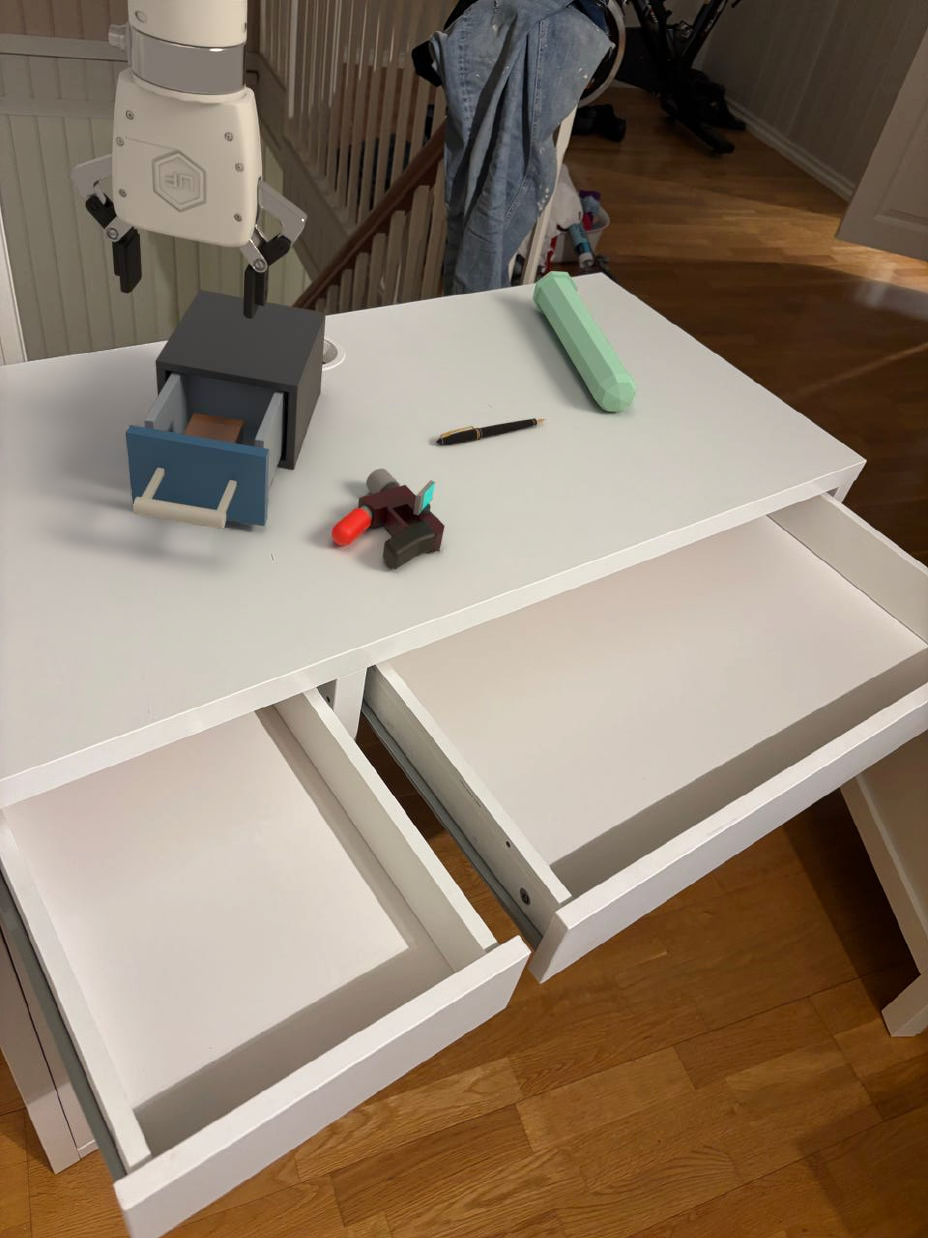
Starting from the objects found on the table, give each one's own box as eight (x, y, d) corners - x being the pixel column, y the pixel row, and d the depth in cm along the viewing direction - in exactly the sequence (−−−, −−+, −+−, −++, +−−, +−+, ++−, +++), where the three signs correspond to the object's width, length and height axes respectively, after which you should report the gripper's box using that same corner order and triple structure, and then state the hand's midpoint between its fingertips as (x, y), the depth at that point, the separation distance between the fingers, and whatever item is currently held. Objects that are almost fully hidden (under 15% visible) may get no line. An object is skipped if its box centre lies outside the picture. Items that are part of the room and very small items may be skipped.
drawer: (249, 569, 78) (250, 498, 73) (109, 545, 77) (100, 472, 72) (294, 441, 92) (297, 374, 87) (177, 421, 91) (173, 352, 86)
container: (643, 369, 103) (572, 263, 119) (592, 386, 103) (528, 278, 119) (647, 412, 107) (578, 304, 124) (598, 428, 107) (535, 318, 124)
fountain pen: (542, 421, 104) (545, 409, 103) (548, 427, 103) (552, 415, 102) (431, 444, 97) (433, 432, 96) (437, 450, 96) (439, 438, 95)
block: (182, 482, 83) (180, 439, 80) (194, 453, 86) (193, 412, 83) (233, 489, 83) (233, 447, 80) (243, 461, 86) (243, 420, 83)
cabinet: (293, 470, 90) (297, 385, 84) (160, 446, 89) (155, 360, 83) (320, 392, 100) (325, 312, 94) (202, 371, 100) (199, 289, 93)
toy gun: (385, 479, 91) (390, 437, 88) (455, 553, 85) (464, 510, 81) (295, 503, 86) (297, 460, 83) (363, 584, 80) (368, 540, 77)
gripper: (37, 44, 60) (65, 296, 72) (305, 105, 62) (289, 342, 73) (80, 19, 66) (99, 257, 77) (325, 75, 67) (308, 300, 79)
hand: (192, 298), depth 75 cm, fingers open, 9 cm apart
